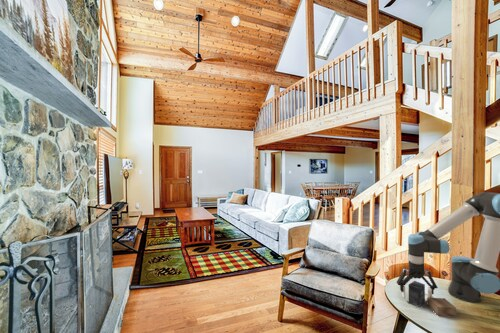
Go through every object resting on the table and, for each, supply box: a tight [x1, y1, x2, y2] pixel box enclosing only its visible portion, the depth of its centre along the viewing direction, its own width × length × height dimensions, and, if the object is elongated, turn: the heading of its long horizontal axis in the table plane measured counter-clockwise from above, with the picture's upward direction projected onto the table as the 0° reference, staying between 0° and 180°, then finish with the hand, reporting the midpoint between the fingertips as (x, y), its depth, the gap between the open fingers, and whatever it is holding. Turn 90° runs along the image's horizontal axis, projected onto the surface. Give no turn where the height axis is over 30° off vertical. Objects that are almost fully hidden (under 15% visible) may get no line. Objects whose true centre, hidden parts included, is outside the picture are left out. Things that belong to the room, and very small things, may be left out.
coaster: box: [425, 293, 435, 303], centre depth 144 cm, size 9×9×1 cm
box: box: [408, 280, 426, 307], centre depth 140 cm, size 8×6×11 cm
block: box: [426, 297, 457, 318], centre depth 131 cm, size 9×9×5 cm
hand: (416, 298), depth 140 cm, fingers open, 13 cm apart
